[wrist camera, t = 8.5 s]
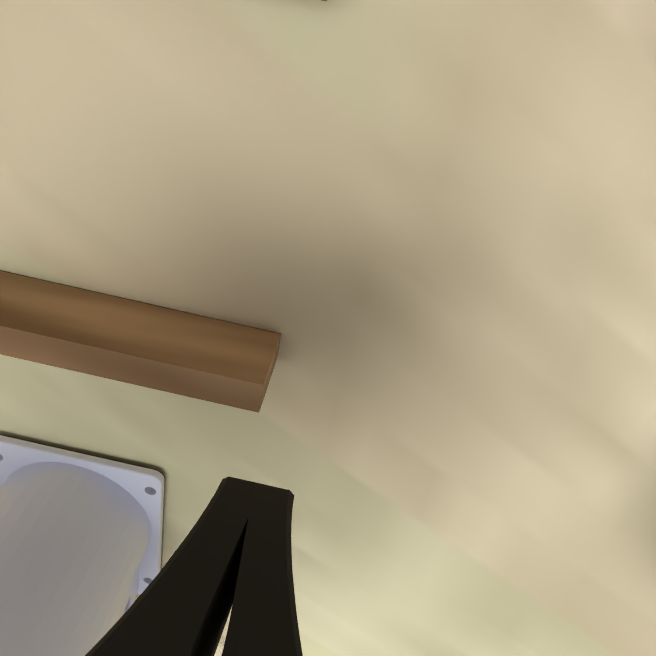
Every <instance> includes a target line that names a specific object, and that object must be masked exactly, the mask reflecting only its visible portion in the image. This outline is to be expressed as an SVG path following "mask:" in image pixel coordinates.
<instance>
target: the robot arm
mask: <svg viewBox="0 0 656 656" xmlns="http://www.w3.org/2000/svg"><path fill="white" fill-rule="evenodd" d="M293 500H294V495H293V494H292V492H291V491H290V490H286V489H282V488H277V487H273V486H268V485H264V484H259V483H255V482H251V481H246V480H242V479H237V478H233V477H227V478H224V479H223V480H222V481H221V483H220V485H219V487H218V489H217V491H216V493H215V494H214V496H213V498H212V499H211V501H210V503H209V504H208V506H207V508H206V509H205V511H204V512H203V514H202V515H201V517H200V518H199V520H198V521H197V523H196V524H195V525H194V527H193V528H192V530H191V531H190V533H189V534H188V535H187V537H186V538H185V539H184V541H183V542H182V543H181V545H180V546H179V547H178V549H177V550H176V551H175V553H174V554H173V555H172V557H171V558H170V559H169V561H168V562H167V563H166V564H165V566H164V567H163V568H162V570H161V548H162V524H163V501H164V477H163V475H162V474H161V473H160V472H158V471H156V470H153V469H148V468H144V467H139V466H135V465H130V464H126V463H122V462H117V461H113V460H108V459H104V458H99V457H95V456H90V455H86V454H82V453H77V452H73V451H68V450H64V449H59V448H55V447H51V446H46V445H42V444H37V443H33V442H28V441H24V440H19V439H15V438H11V437H6V436H2V435H0V656H214V654H215V652H216V649H217V646H218V643H219V641H220V638H221V635H222V632H223V629H224V627H225V624H226V621H227V618H228V615H229V613H230V610H231V607H232V611H231V616H230V622H229V627H228V631H227V636H226V640H225V644H224V649H223V653H222V656H303V655H302V649H301V642H300V636H299V629H298V622H297V614H296V605H295V595H294V584H293V573H292V554H291V520H292V507H293ZM137 594H139V595H140V596H139V597H138V598H137V599H136V601H135V598H136V596H137ZM134 601H135V602H134ZM232 604H233V605H232Z"/></svg>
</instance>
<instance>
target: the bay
mask: <svg viewBox="0 0 656 656" xmlns="http://www.w3.org/2000/svg"><path fill="white" fill-rule="evenodd" d="M323 1H327V0H323ZM280 336H281V334H278V333H274V332H270V331H265V330H261V329H256V328H252V327H247V326H243V325H239V324H234V323H230V322H225V321H221V320H216V319H212V318H208V317H203V316H199V315H194V314H190V313H185V312H181V311H177V310H172V309H168V308H163V307H159V306H154V305H150V304H146V303H141V302H137V301H132V300H128V299H123V298H119V297H115V296H110V295H106V294H101V293H97V292H92V291H88V290H84V289H79V288H75V287H70V286H66V285H61V284H57V283H53V282H48V281H44V280H39V279H35V278H30V277H26V276H22V275H17V274H13V273H8V272H4V271H0V354H2V355H6V356H11V357H15V358H20V359H24V360H29V361H33V362H37V363H42V364H46V365H51V366H55V367H60V368H64V369H68V370H73V371H77V372H82V373H86V374H91V375H95V376H100V377H104V378H108V379H113V380H117V381H122V382H126V383H131V384H135V385H139V386H144V387H148V388H153V389H157V390H162V391H166V392H170V393H175V394H179V395H184V396H188V397H193V398H197V399H201V400H206V401H210V402H215V403H219V404H224V405H228V406H233V407H237V408H241V409H246V410H250V411H255V412H259V411H260V408H261V405H262V402H263V399H264V396H265V393H266V390H267V387H268V384H269V381H270V378H271V375H272V372H273V369H274V366H275V363H276V359H277V354H278V348H279V342H280Z"/></svg>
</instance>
